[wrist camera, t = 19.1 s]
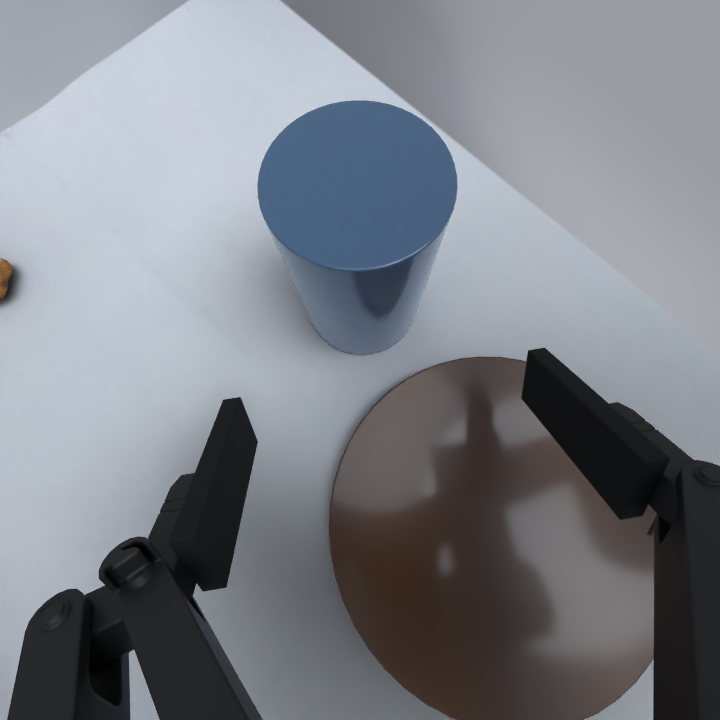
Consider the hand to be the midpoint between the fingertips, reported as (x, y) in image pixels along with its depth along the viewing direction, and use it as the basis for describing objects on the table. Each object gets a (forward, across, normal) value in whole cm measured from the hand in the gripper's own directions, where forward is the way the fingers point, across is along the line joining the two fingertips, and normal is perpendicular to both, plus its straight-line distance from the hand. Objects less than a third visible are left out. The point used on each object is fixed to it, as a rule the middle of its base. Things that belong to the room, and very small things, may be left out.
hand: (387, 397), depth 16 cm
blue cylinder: (+9, 0, +1) cm, 9 cm away
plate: (-1, +5, -9) cm, 10 cm away
